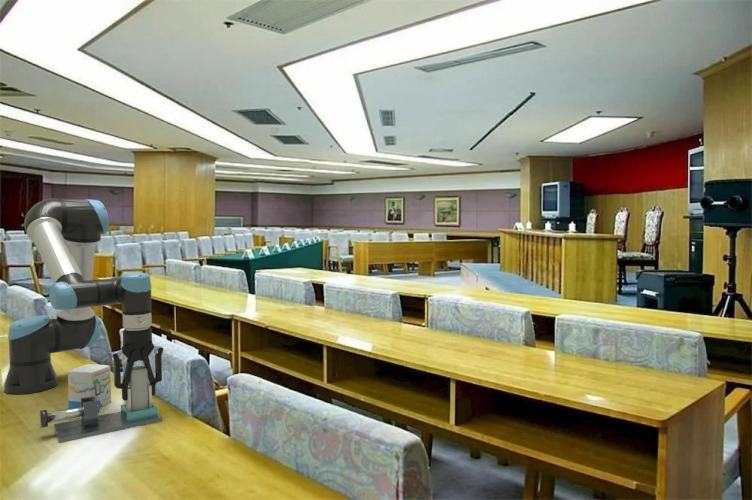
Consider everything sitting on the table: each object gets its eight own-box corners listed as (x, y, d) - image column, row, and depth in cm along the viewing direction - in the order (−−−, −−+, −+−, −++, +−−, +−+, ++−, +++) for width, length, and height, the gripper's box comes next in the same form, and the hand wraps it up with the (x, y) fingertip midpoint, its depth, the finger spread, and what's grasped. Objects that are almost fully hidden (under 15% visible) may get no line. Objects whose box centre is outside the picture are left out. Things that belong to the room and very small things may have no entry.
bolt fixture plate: (53, 427, 147) (52, 399, 146) (150, 408, 161) (150, 382, 161) (59, 442, 137) (58, 412, 137) (161, 421, 152) (161, 393, 151)
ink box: (92, 411, 159) (91, 372, 159) (67, 409, 161) (66, 370, 160) (112, 401, 168) (111, 364, 167) (88, 399, 169) (87, 363, 169)
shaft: (40, 424, 141) (39, 408, 141) (96, 414, 149) (96, 398, 149) (41, 430, 138) (41, 413, 138) (99, 418, 146) (99, 402, 146)
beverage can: (152, 407, 155) (151, 366, 155) (139, 413, 151) (138, 371, 150) (138, 406, 157) (137, 365, 156) (126, 411, 152) (125, 369, 152)
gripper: (105, 334, 144) (107, 419, 146) (173, 326, 155) (175, 406, 156) (99, 329, 150) (102, 411, 152) (166, 322, 161) (167, 399, 162)
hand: (139, 408), depth 154 cm, fingers closed on beverage can, 5 cm apart
